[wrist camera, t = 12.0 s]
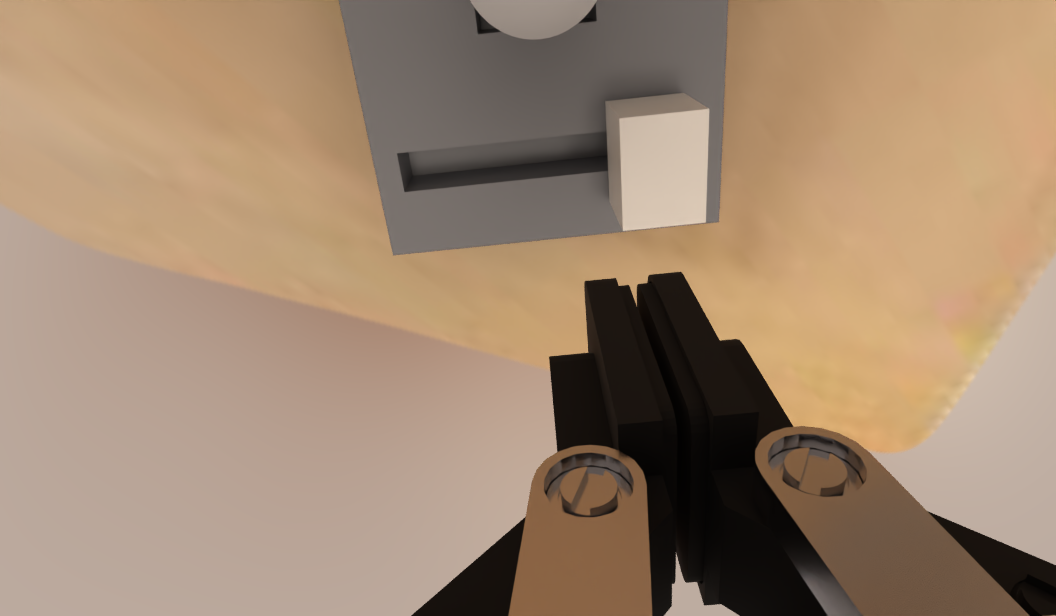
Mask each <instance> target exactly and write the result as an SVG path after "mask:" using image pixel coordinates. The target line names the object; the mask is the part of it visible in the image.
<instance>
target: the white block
mask: <svg viewBox="0 0 1056 616" xmlns="http://www.w3.org/2000/svg"><path fill="white" fill-rule="evenodd" d="M605 106H606V130H607V154H608V178H609V202H610V204H611V206H612V208H613V210H614V213H615V215H616V217H617V219H618V221H619V224H620V226H621V228H622V230H623V231H629V230H639V229H649V228H658V227H668V226H678V225H688V224H697V223H706V201H707V169H708V137H709V108H707V107H706V106H704V105H702V104H701V103H699V102H698V101H696V100H694V99H693V98H691V97H690V96H688V95H686V94H685V93H677V94H667V95H658V96H649V97H639V98H630V99H621V100H612V101H605Z"/></svg>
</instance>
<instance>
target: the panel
mask: <svg viewBox="0 0 1056 616" xmlns="http://www.w3.org/2000/svg"><path fill="white" fill-rule="evenodd" d="M339 4H340V8H341V13H342V18H343V22H344V27H345V32H346V36H347V41H348V46H349V50H350V55H351V60H352V64H353V69H354V74H355V79H356V83H357V88H358V93H359V97H360V102H361V107H362V111H363V116H364V121H365V125H366V130H367V135H368V140H369V144H370V149H371V154H372V158H373V163H374V168H375V172H376V177H377V182H378V186H379V191H380V196H381V200H382V205H383V210H384V215H385V219H386V224H387V229H388V233H389V238H390V243H391V247H392V252H393V255H401V254H411V253H421V252H431V251H440V250H450V249H460V248H470V247H480V246H489V245H499V244H509V243H519V242H528V241H538V240H548V239H558V238H567V237H577V236H587V235H597V234H607V233H616V232H626V231H623V230H622V228H621V226H620V224H619V221H618V219H617V217H616V215H615V213H614V210H613V208H612V206H611V204H610V202H609V178H608V154H607V130H606V106H605V101H612V100H621V99H630V98H639V97H649V96H658V95H667V94H677V93H685V94H686V95H688V96H690V97H691V98H693V99H694V100H696V101H698V102H699V103H701V104H702V105H704V106H706V107H707V108H709V137H708V169H707V201H706V223H714V222H719V209H720V185H721V161H722V137H723V113H724V88H725V64H726V40H727V16H728V0H597V1H596V3H595V4H594V6H593V7H592V9H591V10H590V11H589V13H588V14H587V15H586V16H585V17H584V18H583V19H582V20H581V21H580V22H579V23H577V24H576V25H575V26H573V27H572V28H570V29H569V30H567V31H565V32H563V33H561V34H559V35H556V36H553V37H550V38H545V39H535V40H530V39H521V38H517V37H513V36H510V35H508V34H506V33H503V32H501V31H500V30H498V29H496V28H495V27H493V26H492V25H491V24H489V23H488V22H487V21H486V20H485V19H484V18H483V17H482V16H481V15H480V14H479V13H478V11H477V10H476V9H475V8H474V6H473V4H472V3H471V1H470V0H339ZM697 224H704V223H697ZM688 225H695V224H688ZM678 226H685V225H678ZM668 227H675V226H668ZM658 228H665V227H658ZM649 229H655V228H649ZM639 230H646V229H639ZM629 231H636V230H629Z"/></svg>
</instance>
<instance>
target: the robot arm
mask: <svg viewBox="0 0 1056 616" xmlns="http://www.w3.org/2000/svg"><path fill="white" fill-rule="evenodd" d="M585 305H586V320H587V336H588V352H589V353H582V354H571V355H561V356H550V357H549V360H550V371H551V382H552V394H553V405H554V417H555V429H556V440H557V451H558V452H557V453H555V454H554V455H552V456H550V457H549V458H547V459H546V460H545V461H544V462H543V463H542V464H541V466H540V467H539V468H538V469H537V470H536V473H535V475H534V478H533V480H532V484H531V490H530V496H529V501H528V507H527V514H526V517H525V518H524V519H523V520H521V521H520V522H519V523H518V524H517V525H516V526H515V527H513V528H512V529H511V530H510V531H509V532H508V533H506V534H505V535H504V536H503V537H502V538H501V539H500V540H498V541H497V542H496V543H495V544H494V545H493V546H491V547H490V548H489V549H488V550H487V551H486V552H485V553H484V554H482V555H481V556H480V557H479V558H478V559H476V560H475V561H474V562H473V563H472V564H471V565H469V566H468V567H467V568H466V569H465V570H464V571H462V572H461V573H460V574H459V575H458V576H457V577H456V578H454V579H453V580H452V581H451V582H450V583H449V584H447V586H445V587H444V588H443V589H442V590H441V591H439V592H438V593H437V594H436V595H435V596H434V597H433V598H431V599H430V600H429V601H428V602H427V603H425V604H424V605H423V606H422V607H421V608H420V609H418V610H417V611H416V612H415V613H414V614H413V615H412V616H664V615H665V613H666V612H667V611H668V610H669V608H670V607H671V606H672V605H671V604H672V584H674V583H675V569H676V553H677V557H678V561H679V564H680V568H681V572H682V575H683V578H684V580H685V582H697V583H698V586H699V589H700V593H701V596H702V599H703V603H704V605H715V604H722V605H724V606H725V607H727V608H728V609H730V610H732V611H733V612H735V613H737V614H738V615H740V616H1056V565H1053V564H1051V563H1049V562H1047V561H1044V560H1042V559H1039V558H1037V557H1035V556H1032V555H1030V554H1028V553H1025V552H1023V551H1020V550H1018V549H1016V548H1013V547H1011V546H1009V545H1006V544H1004V543H1001V542H999V541H997V540H994V539H992V538H989V537H987V536H985V535H982V534H980V533H978V532H975V531H973V530H970V529H968V528H966V527H963V526H961V525H959V524H956V523H954V522H952V521H949V520H947V519H944V518H942V517H940V516H937V515H935V514H933V513H930V512H928V511H926V510H925V509H924V508H923V507H922V506H921V505H920V503H919V502H917V501H916V500H915V498H914V497H913V496H912V495H911V494H910V493H909V492H908V491H907V490H906V489H905V488H904V487H903V486H902V485H901V484H900V483H899V482H898V481H897V480H896V479H895V478H894V477H893V476H892V475H891V474H890V473H889V472H888V471H887V470H886V469H885V468H884V467H883V466H882V465H881V464H880V463H879V462H878V461H877V460H876V459H875V458H874V457H873V456H872V455H871V454H870V453H869V452H868V451H867V450H866V449H864V448H863V447H862V446H861V445H859V444H858V443H857V442H855V441H853V440H851V439H849V438H847V437H845V436H843V435H841V434H839V433H836V432H832V431H829V430H826V429H822V428H815V427H806V426H799V427H793V425H792V424H791V422H790V420H789V419H788V417H787V415H786V414H785V412H784V410H783V409H782V407H781V406H780V404H779V402H778V401H777V399H776V397H775V396H774V394H773V392H772V391H771V389H770V388H769V386H768V384H767V383H766V381H765V379H764V378H763V376H762V374H761V373H760V371H759V370H758V368H757V366H756V365H755V363H754V361H753V360H752V358H751V356H750V355H749V353H748V351H747V350H746V348H745V347H744V345H743V344H742V342H741V341H740V340H737V339H732V340H722V341H720V340H719V338H718V337H717V335H716V333H715V331H714V329H713V328H712V326H711V324H710V322H709V320H708V319H707V317H706V315H705V313H704V311H703V310H702V308H701V306H700V304H699V302H698V301H697V299H696V297H695V295H694V293H693V291H692V290H691V288H690V286H689V284H688V282H687V281H686V279H685V277H684V275H683V274H682V272H675V273H664V274H654V275H649V277H648V283H645V284H638V285H637V306H636V303H635V300H634V298H633V295H632V292H631V289H630V287H629V285H625V286H618V283H617V280H616V278H613V279H602V280H592V281H585Z"/></svg>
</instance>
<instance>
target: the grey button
mask: <svg viewBox="0 0 1056 616" xmlns="http://www.w3.org/2000/svg"><path fill="white" fill-rule="evenodd" d="M470 1H471V3H472V4H473V6H474V8H475V9H476V10H477V11H478V13H479V14H480V15H481V16H482V17H483V18H484V19H485V20H486V21H487V22H488V23H489V24H491V25H492V26H493V27H495V28H496V29H498V30H500V31H501V32H503V33H506V34H508V35H510V36H513V37H517V38H521V39H530V40H535V39H545V38H550V37H553V36H556V35H559V34H561V33H563V32H565V31H567V30H569V29H570V28H572V27H573V26H575V25H576V24H577V23H579V22H580V21H581V20H582V19H583V18H584V17H585V16H586V15H587V14H588V13H589V11H590V10H591V9H592V7H593V6H594V4H595V3H596V1H597V0H470Z"/></svg>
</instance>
